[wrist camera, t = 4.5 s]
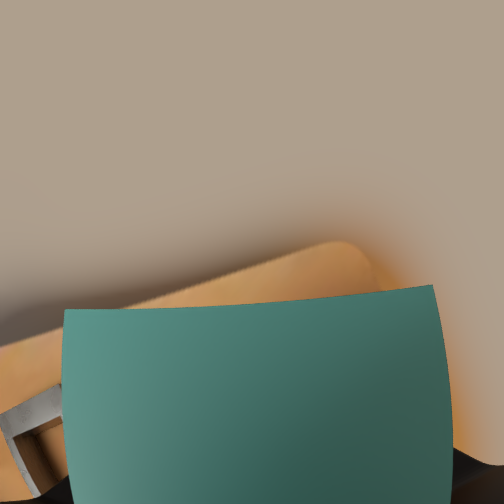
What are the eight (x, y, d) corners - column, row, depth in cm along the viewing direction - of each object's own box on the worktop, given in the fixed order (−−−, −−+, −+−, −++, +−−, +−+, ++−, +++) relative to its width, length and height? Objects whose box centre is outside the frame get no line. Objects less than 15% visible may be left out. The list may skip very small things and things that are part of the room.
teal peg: (303, 445, 13) (436, 578, 1) (215, 451, 13) (107, 603, 1) (296, 364, 15) (432, 284, 3) (209, 370, 15) (65, 309, 3)
